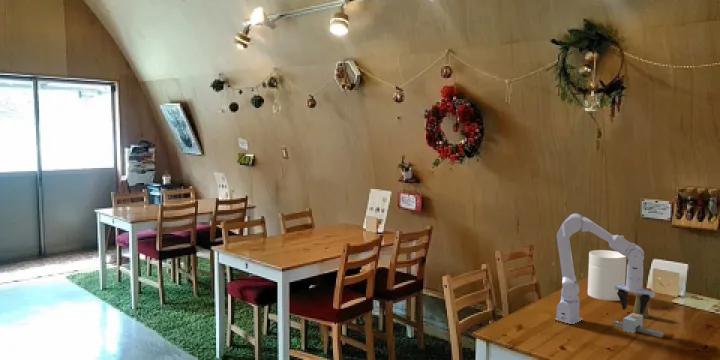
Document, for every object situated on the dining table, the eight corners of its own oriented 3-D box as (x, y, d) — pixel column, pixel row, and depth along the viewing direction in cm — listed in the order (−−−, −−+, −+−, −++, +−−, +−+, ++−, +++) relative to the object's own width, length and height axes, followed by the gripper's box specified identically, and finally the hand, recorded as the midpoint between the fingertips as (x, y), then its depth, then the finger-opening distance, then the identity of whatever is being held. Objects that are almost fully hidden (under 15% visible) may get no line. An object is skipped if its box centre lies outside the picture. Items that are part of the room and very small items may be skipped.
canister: (580, 292, 268) (581, 251, 266) (607, 289, 273) (609, 249, 271) (604, 302, 253) (605, 259, 251) (632, 298, 258) (634, 256, 256)
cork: (632, 316, 234) (633, 291, 233) (632, 312, 239) (634, 287, 238) (648, 318, 231) (649, 293, 230) (648, 314, 236) (649, 289, 235)
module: (633, 333, 215) (634, 320, 215) (622, 330, 218) (623, 317, 218) (642, 327, 221) (642, 314, 221) (631, 325, 224) (632, 312, 224)
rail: (661, 337, 211) (661, 333, 211) (613, 325, 224) (613, 321, 224) (663, 336, 212) (663, 332, 212) (615, 324, 225) (615, 320, 225)
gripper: (658, 279, 215) (656, 313, 216) (620, 271, 225) (618, 304, 227) (651, 282, 210) (649, 317, 211) (612, 275, 221) (611, 308, 222)
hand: (633, 311), depth 219 cm, fingers open, 6 cm apart
